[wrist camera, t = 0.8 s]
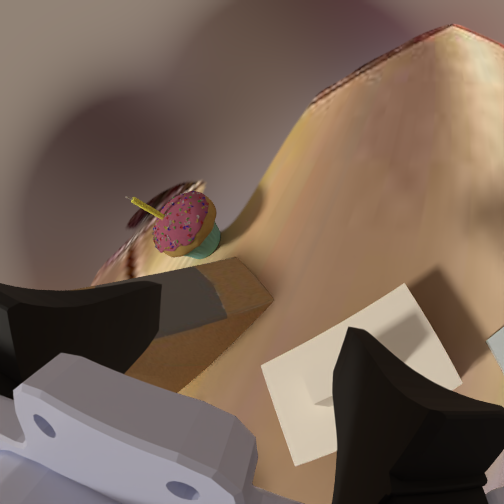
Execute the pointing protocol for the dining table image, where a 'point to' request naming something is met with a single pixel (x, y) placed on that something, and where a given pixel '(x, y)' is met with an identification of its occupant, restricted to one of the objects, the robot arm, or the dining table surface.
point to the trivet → (497, 347)
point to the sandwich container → (197, 319)
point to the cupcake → (185, 225)
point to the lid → (323, 362)
